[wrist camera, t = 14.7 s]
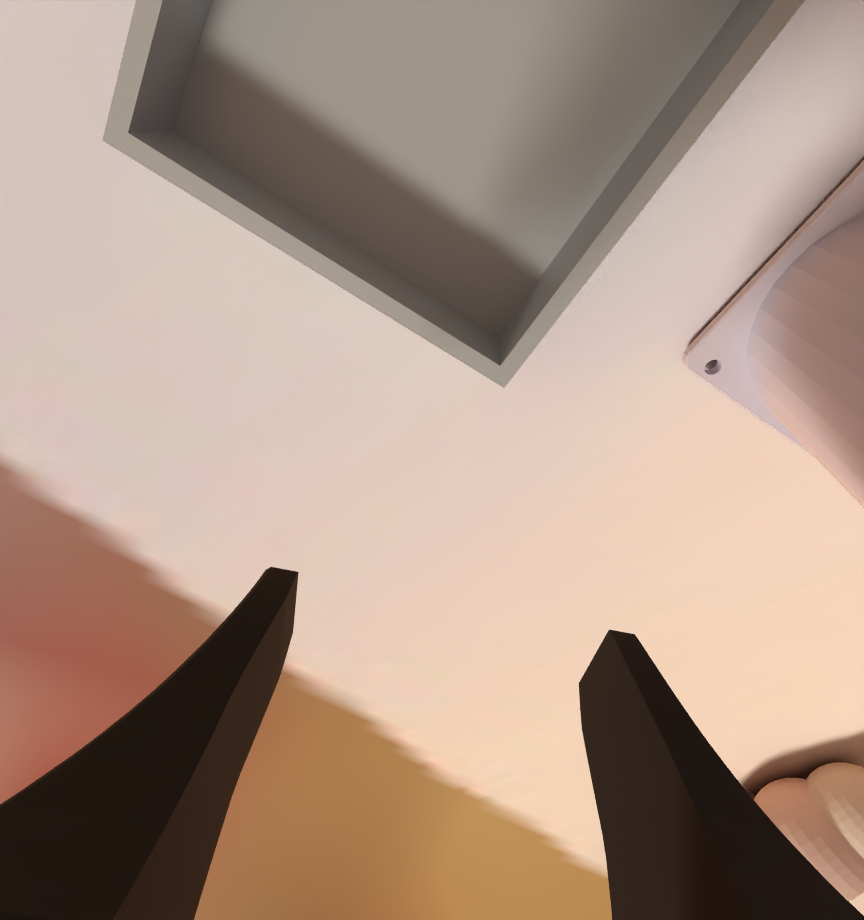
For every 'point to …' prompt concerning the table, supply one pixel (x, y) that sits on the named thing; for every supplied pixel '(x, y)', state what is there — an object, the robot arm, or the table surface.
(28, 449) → the table surface
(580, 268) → the tote
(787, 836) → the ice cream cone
